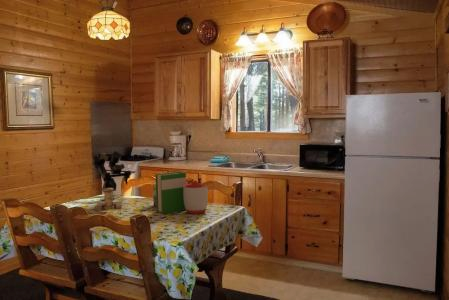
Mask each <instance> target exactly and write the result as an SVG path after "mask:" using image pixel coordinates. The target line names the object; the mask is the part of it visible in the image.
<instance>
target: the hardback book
mask: <svg viewBox="0 0 449 300" xmlns="http://www.w3.org/2000/svg"><path fill="white" fill-rule="evenodd" d="M155 183H156V205H155V206H156V213H161V215H165V214H167V215H168V214H171V213H177V212H183V211H186V209H185V206H184V196H183V185H185V184H187V173H186V172H185V171H184V172H183V171H174V172H173V171H172V172H162V173H156V174H155Z"/></svg>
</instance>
